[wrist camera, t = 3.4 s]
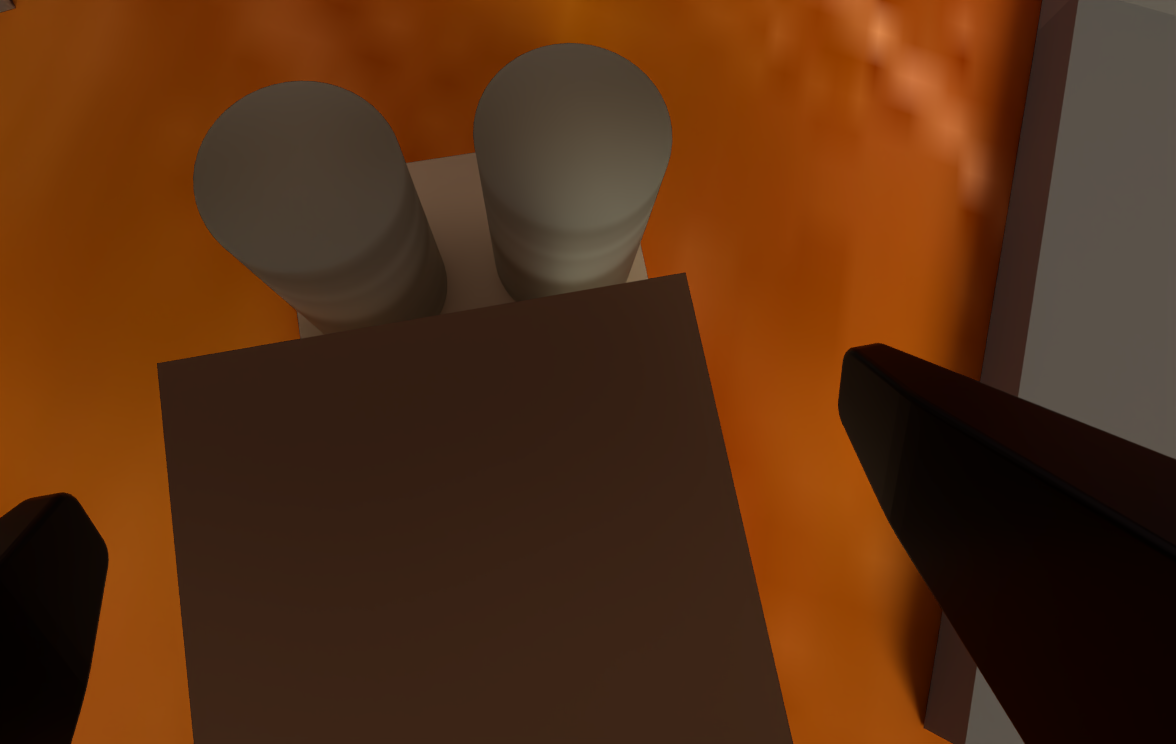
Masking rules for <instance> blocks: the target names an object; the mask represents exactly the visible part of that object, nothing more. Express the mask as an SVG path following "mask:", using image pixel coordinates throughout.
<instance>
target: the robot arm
mask: <svg viewBox="0 0 1176 744" xmlns="http://www.w3.org/2000/svg"><path fill="white" fill-rule="evenodd" d="M838 410H839V415H840V419H841V421H842V424H843V426H844V428H845V430H846V432H847V435H848V437H849V439H850V441H851V443H852V445H853V448H854V450H855V452H856V454H857V456H858V458H859V460H860V463H861V465H862V467H863V469H864V471H865V473H866V475H867V478H868V480H869V482H870V484H871V486H872V488H873V491H874V493H875V495H876V497H877V499H878V501H879V503H880V506H881V508H882V510H883V512H884V514H885V516H886V518H887V520H888V522H889V523H890V525H891V527H892V529H893V530H894V532H895V534H896V535H897V537H898V539H899V541H900V542H901V544H902V545H903V547H904V549H905V550H906V552H907V554H908V555H909V557H910V558H911V560H912V562H913V563H914V565H915V567H916V568H917V570H918V571H919V573H920V575H921V576H922V578H923V580H924V581H925V583H926V584H927V586H928V588H929V589H930V591H931V593H932V594H933V596H934V597H935V599H936V601H937V602H938V604H939V606H940V607H941V609H942V610H943V612H944V614H945V615H946V617H947V619H948V620H949V622H950V623H951V625H952V627H953V628H954V630H955V632H956V633H957V635H958V636H959V638H960V640H961V641H962V643H963V645H964V646H965V648H966V649H967V651H968V653H969V654H970V656H971V658H972V659H973V661H974V662H975V664H976V666H977V667H978V669H979V671H980V672H981V674H982V675H983V677H984V679H985V680H986V682H987V684H988V685H989V687H990V688H991V690H992V692H993V693H994V695H995V697H996V698H997V700H998V701H999V703H1000V705H1001V706H1002V708H1003V710H1004V711H1005V713H1006V714H1007V716H1008V718H1009V719H1010V721H1011V722H1012V724H1013V726H1014V727H1015V729H1016V731H1017V732H1018V734H1019V735H1020V737H1021V739H1022V740H1023V742H1024V744H1176V459H1174V458H1172V457H1169V456H1167V455H1164V454H1162V453H1159V452H1157V451H1154V450H1151V449H1149V448H1146V447H1144V446H1141V445H1139V444H1136V443H1134V442H1131V441H1129V440H1126V439H1124V438H1121V437H1118V436H1116V435H1113V434H1111V433H1108V432H1106V431H1103V430H1101V429H1098V428H1096V427H1093V426H1091V425H1088V424H1085V423H1083V422H1080V421H1078V420H1075V419H1073V418H1070V417H1068V416H1065V415H1063V414H1060V413H1058V412H1055V411H1052V410H1050V409H1047V408H1045V407H1042V406H1040V405H1037V404H1035V403H1032V402H1030V401H1027V400H1025V399H1022V398H1019V397H1017V396H1014V395H1012V394H1009V393H1007V392H1004V391H1002V390H999V389H997V388H994V387H992V386H989V385H986V384H984V383H981V382H979V381H976V380H974V379H971V378H969V377H966V376H964V375H961V374H958V373H956V372H953V371H951V370H948V369H946V368H943V367H941V366H938V365H936V364H933V363H931V362H928V361H925V360H923V359H920V358H918V357H915V356H913V355H910V354H908V353H905V352H903V351H900V350H898V349H895V348H892V347H890V346H887V345H885V344H882V343H874V344H869V345H864V346H858V347H853V348H850V349H849V350H848V351H847V352H846V353H845V355H844V358H843V364H842V373H841V382H840V390H839V399H838ZM108 561H109V559H108V550H107V547H106V544H105V542H104V540H103V538H102V537H101V535H100V534H99V532H98V530H97V529H96V527H95V526H94V524H93V523H92V521H91V520H90V518H89V517H88V515H87V514H86V512H85V510H84V509H83V507H82V506H81V504H80V503H79V501H78V500H77V499H76V498H75V497H74V496H72V495H71V494H68V493H64V492H63V493H56V494H50V495H45V496H39V497H34V498H30V499H27V500H25V501H23V502H21V503H20V504H19V505H17V506H16V507H15V508H13V509H12V510H10V511H9V512H8V513H6V514H5V515H4V516H2V517H1V518H0V744H71V742H72V738H73V735H74V732H75V728H76V725H77V721H78V718H79V714H80V711H81V707H82V703H83V700H84V696H85V692H86V688H87V683H88V679H89V674H90V669H91V664H92V658H93V652H94V646H95V640H96V634H97V628H98V622H99V617H100V611H101V605H102V599H103V593H104V587H105V581H106V575H107V569H108Z"/></svg>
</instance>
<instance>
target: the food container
mask: <svg viewBox="0 0 1176 744" xmlns="http://www.w3.org/2000/svg"><path fill="white" fill-rule="evenodd" d="M14 8H15V5H14V3H13V1H12V0H0V12H3V11H7V10H10V9H14Z"/></svg>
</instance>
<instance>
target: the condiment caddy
mask: <svg viewBox="0 0 1176 744" xmlns="http://www.w3.org/2000/svg"><path fill="white" fill-rule="evenodd" d="M473 137H474V146H475V152H476V153H469V154H462V155H456V156H449V157H443V158H436V159H430V160H423V161H417V162H410V163H406V162H405V159H404V157H403V154H402V151H401V149H400V146H399V144H398V141H397V139H396V136H395V134H394V132H393V131H392V129H391V127H390V125H389V124H388V123H387V121H386V120H385V119H384V117H383V116H382V115H381V114H380V113H379V112H378V111H377V110H376V109H375V108H374V107H373V106H372V105H371V104H369V103H368V102H367V101H365V100H364V99H363V98H361V97H359V96H358V95H356V94H354V93H352V92H350V91H348V90H346V89H343V88H341V87H338V86H334V85H331V84H327V83H321V82H314V81H293V82H284V83H279V84H274V85H271V86H268V87H265V88H262V89H259V90H257V91H255V92H253V93H250V94H248V95H247V96H245V97H243V98H242V99H240V100H239V101H237V102H236V103H234V104H233V105H232V106H231V107H229V108H228V109H227V110H226V111H225V112H224V113H223V114H222V115H221V116H220V117H219V118H218V119H217V120H216V121H215V123H214V124H213V125H212V127H211V128H210V129H209V131H208V133H207V134H206V136H205V138H204V139H203V141H202V144H201V146H200V149H199V151H198V154H197V158H196V162H195V167H194V176H193V183H194V194H195V200H196V204H197V207H198V210H199V213H200V216H201V218H202V219H203V221H204V223H205V225H206V227H207V228H208V230H209V231H210V233H211V234H212V235H213V237H214V238H215V239H216V240H217V241H218V242H219V243H220V244H221V245H222V246H223V247H224V248H225V249H226V250H227V251H229V252H230V253H231V254H232V255H233V256H234V257H236V258H237V259H238V260H239V261H240V262H241V263H242V264H244V265H245V266H246V267H247V268H248V269H249V270H251V271H252V272H253V273H254V274H255V275H256V276H257V277H259V278H260V279H261V280H262V281H263V282H264V283H266V284H267V285H268V286H269V287H270V288H271V289H272V290H274V291H275V292H276V293H277V294H278V295H279V296H281V297H282V298H283V299H284V300H285V301H286V302H287V303H289V304H290V305H291V306H292V307H293V308H294V309H296V310H297V316H298V324H299V331H300V339H296V340H290V341H284V342H279V343H273V344H267V345H261V346H255V347H250V348H244V349H238V350H232V351H226V352H220V353H215V354H209V355H203V356H197V357H191V358H186V359H180V360H174V361H168V362H162V363H157V369H158V379H159V389H160V400H161V410H162V420H163V430H164V441H165V451H166V461H167V472H168V482H169V492H170V502H171V513H172V523H173V533H174V544H175V554H176V564H177V574H178V585H179V595H180V605H181V616H182V626H183V636H184V646H185V657H186V667H187V677H188V688H189V698H190V708H191V718H192V729H193V739H194V744H793V741H792V737H791V732H790V728H789V724H788V719H787V715H786V710H785V706H784V702H783V697H782V693H781V689H780V684H779V680H778V675H777V671H776V667H775V662H774V658H773V653H772V649H771V645H770V640H769V636H768V632H767V627H766V623H765V618H764V614H763V610H762V605H761V601H760V597H759V592H758V588H757V583H756V579H755V575H754V570H753V566H752V562H751V557H750V553H749V548H748V544H747V540H746V535H745V531H744V527H743V522H742V518H741V513H740V509H739V505H738V500H737V496H736V492H735V487H734V483H733V478H732V474H731V470H730V465H729V461H728V457H727V452H726V448H725V443H724V439H723V435H722V430H721V426H720V421H719V417H718V413H717V408H716V404H715V400H714V395H713V391H712V386H711V382H710V378H709V373H708V369H707V365H706V360H705V356H704V351H703V347H702V343H701V338H700V334H699V330H698V325H697V321H696V316H695V312H694V308H693V303H692V299H691V295H690V290H689V286H688V281H687V277H686V273H680V274H674V275H668V276H662V277H657V278H651V279H648V276H647V272H646V267H645V263H644V258H643V253H642V249H641V244H640V242H641V239H642V236H643V234H644V231H645V228H646V225H647V222H648V219H649V217H650V214H651V211H652V208H653V205H654V202H655V199H656V197H657V194H658V191H659V188H660V185H661V182H662V180H663V177H664V174H665V171H666V168H667V165H668V162H669V158H670V154H671V147H672V127H671V121H670V116H669V113H668V110H667V107H666V104H665V102H664V100H663V98H662V96H661V94H660V93H659V91H658V89H657V88H656V86H655V85H654V84H653V82H652V81H651V80H650V79H649V78H648V76H647V75H646V74H645V73H643V72H642V71H641V70H640V69H639V68H638V67H637V66H635V65H634V64H633V63H631V62H630V61H629V60H627V59H625V58H623V57H622V56H620V55H618V54H616V53H614V52H611V51H609V50H606V49H603V48H600V47H596V46H592V45H586V44H576V43H564V44H554V45H549V46H544V47H540V48H537V49H534V50H531V51H529V52H527V53H525V54H523V55H521V56H519V57H517V58H516V59H514V60H513V61H511V62H510V63H508V64H507V65H506V66H505V67H504V68H502V69H501V70H500V71H499V72H498V73H497V74H496V75H495V77H494V78H493V79H492V80H491V81H490V83H489V84H488V86H487V87H486V89H485V90H484V92H483V94H482V97H481V99H480V101H479V104H478V107H477V110H476V114H475V119H474V130H473Z"/></svg>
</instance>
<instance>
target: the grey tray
mask: <svg viewBox="0 0 1176 744" xmlns="http://www.w3.org/2000/svg"><path fill="white" fill-rule="evenodd" d="M980 382H981V383H984V384H986V385H989V386H992V387H994V388H997V389H999V390H1002V391H1004V392H1007V393H1009V394H1012V395H1014V396H1017V397H1019V398H1022V399H1025V400H1027V401H1030V402H1032V403H1035V404H1037V405H1040V406H1042V407H1045V408H1047V409H1050V410H1052V411H1055V412H1058V413H1060V414H1063V415H1065V416H1068V417H1070V418H1073V419H1075V420H1078V421H1080V422H1083V423H1085V424H1088V425H1091V426H1093V427H1096V428H1098V429H1101V430H1103V431H1106V432H1108V433H1111V434H1113V435H1116V436H1118V437H1121V438H1124V439H1126V440H1129V441H1131V442H1134V443H1136V444H1139V445H1141V446H1144V447H1146V448H1149V449H1151V450H1154V451H1157V452H1159V453H1162V454H1164V455H1167V456H1169V457H1172V458H1174V459H1176V0H1042V6H1041V12H1040V18H1039V24H1038V30H1037V36H1036V43H1035V49H1034V55H1033V61H1032V67H1031V73H1030V79H1029V85H1028V92H1027V98H1026V104H1025V110H1024V116H1023V122H1022V128H1021V134H1020V141H1019V147H1018V153H1017V159H1016V165H1015V171H1014V177H1013V183H1012V189H1011V196H1010V202H1009V208H1008V214H1007V220H1006V226H1005V232H1004V238H1003V245H1002V251H1001V257H1000V263H999V269H998V275H997V281H996V287H995V293H994V300H993V306H992V312H991V318H990V324H989V330H988V336H987V342H986V349H985V355H984V361H983V367H982V373H981V379H980ZM924 728H925V729H927V730H929V731H931V732H933V733H934V734H936V735H938V736H940V737H942V738H944V739H946V740H947V741H949V742H951V743H953V744H1024V742H1023V740H1022V739H1021V737H1020V735H1019V734H1018V732H1017V731H1016V729H1015V727H1014V726H1013V724H1012V722H1011V721H1010V719H1009V718H1008V716H1007V714H1006V713H1005V711H1004V710H1003V708H1002V706H1001V705H1000V703H999V701H998V700H997V698H996V697H995V695H994V693H993V692H992V690H991V688H990V687H989V685H988V684H987V682H986V680H985V679H984V677H983V675H982V674H981V672H980V671H979V669H978V667H977V666H976V664H975V662H974V661H973V659H972V658H971V656H970V654H969V653H968V651H967V649H966V648H965V646H964V645H963V643H962V641H961V640H960V638H959V636H958V635H957V633H956V632H955V630H954V628H953V627H952V625H951V623H950V622H949V620H948V619H947V617H946V615H945V614H944V612H942V618H941V624H940V630H939V636H938V642H937V648H936V654H935V661H934V667H933V673H932V679H931V685H930V691H929V697H928V703H927V710H926V716H925V722H924Z"/></svg>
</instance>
